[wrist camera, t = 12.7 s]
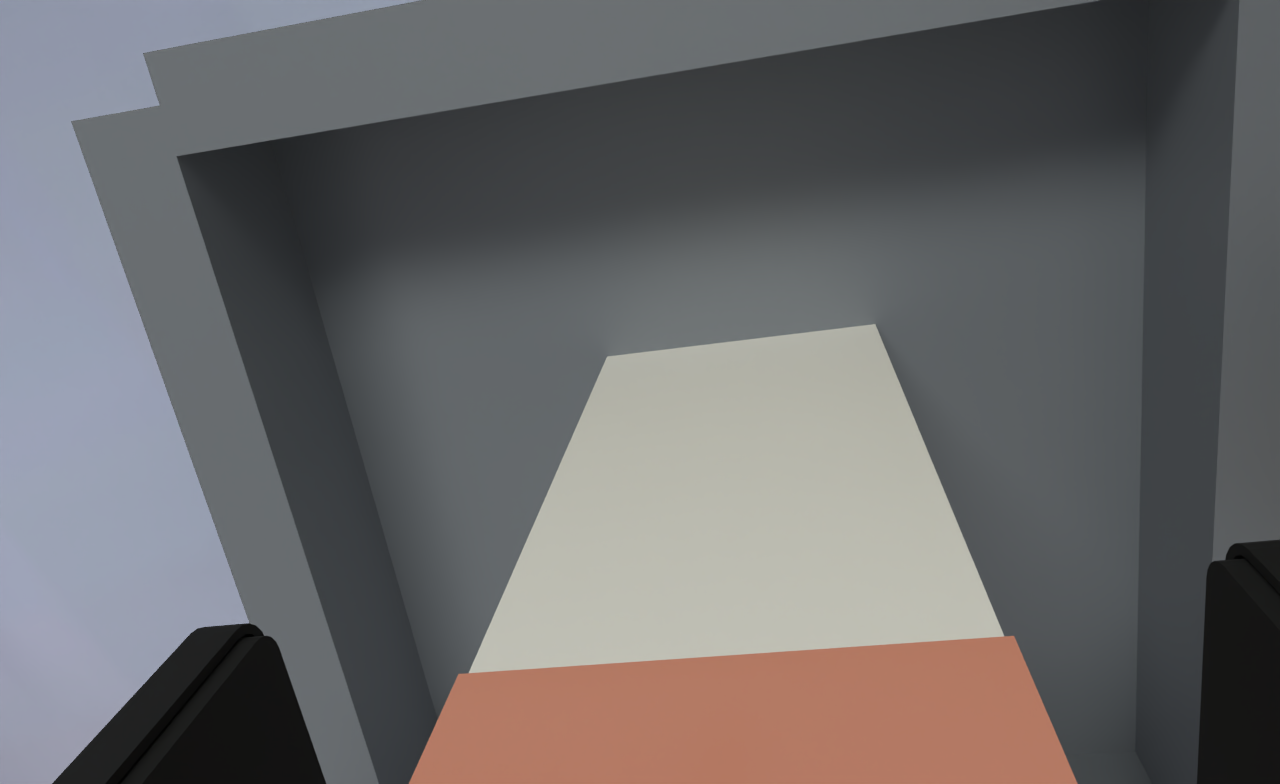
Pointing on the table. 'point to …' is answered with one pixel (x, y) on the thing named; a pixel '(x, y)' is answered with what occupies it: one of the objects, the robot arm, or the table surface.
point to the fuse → (746, 594)
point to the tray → (716, 303)
